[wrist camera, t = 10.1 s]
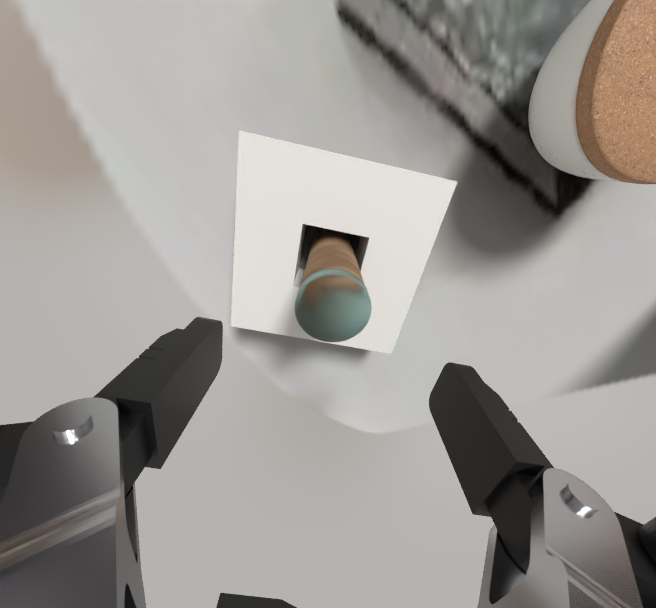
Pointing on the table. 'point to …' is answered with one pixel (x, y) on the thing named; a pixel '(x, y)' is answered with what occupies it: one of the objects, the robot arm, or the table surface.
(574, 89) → the lidded jar
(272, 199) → the socket block
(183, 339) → the robot arm
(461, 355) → the table surface
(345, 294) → the walnut dowel
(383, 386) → the table surface
